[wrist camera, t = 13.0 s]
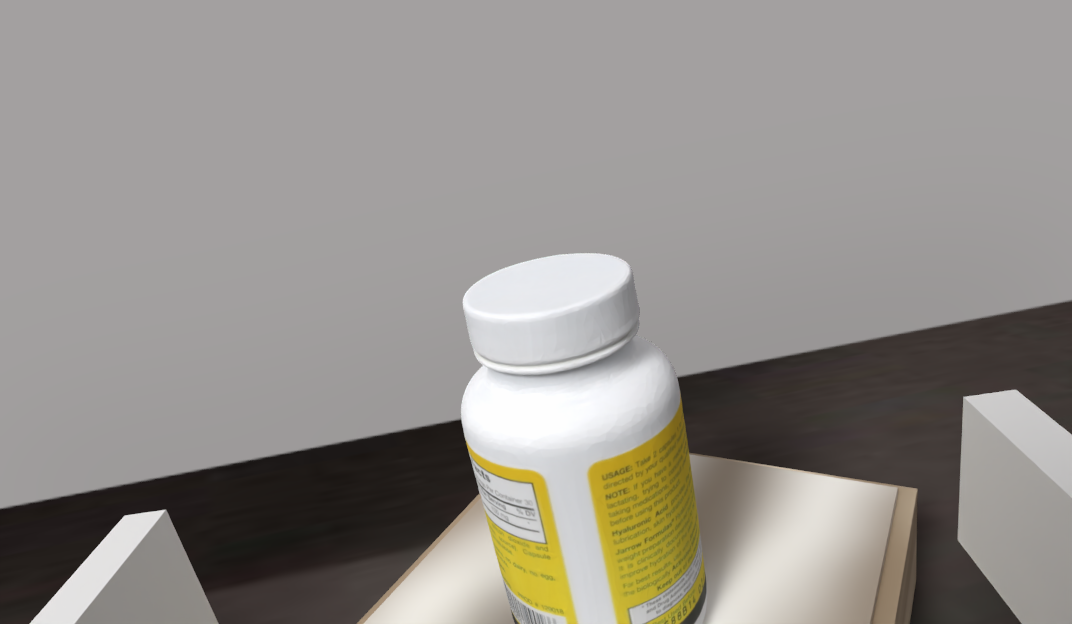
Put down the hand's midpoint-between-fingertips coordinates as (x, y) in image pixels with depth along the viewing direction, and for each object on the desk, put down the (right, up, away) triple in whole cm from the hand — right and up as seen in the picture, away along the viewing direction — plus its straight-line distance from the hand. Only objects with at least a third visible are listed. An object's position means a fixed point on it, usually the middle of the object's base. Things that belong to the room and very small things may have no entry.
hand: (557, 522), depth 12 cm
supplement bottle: (+2, -5, +8) cm, 10 cm away
